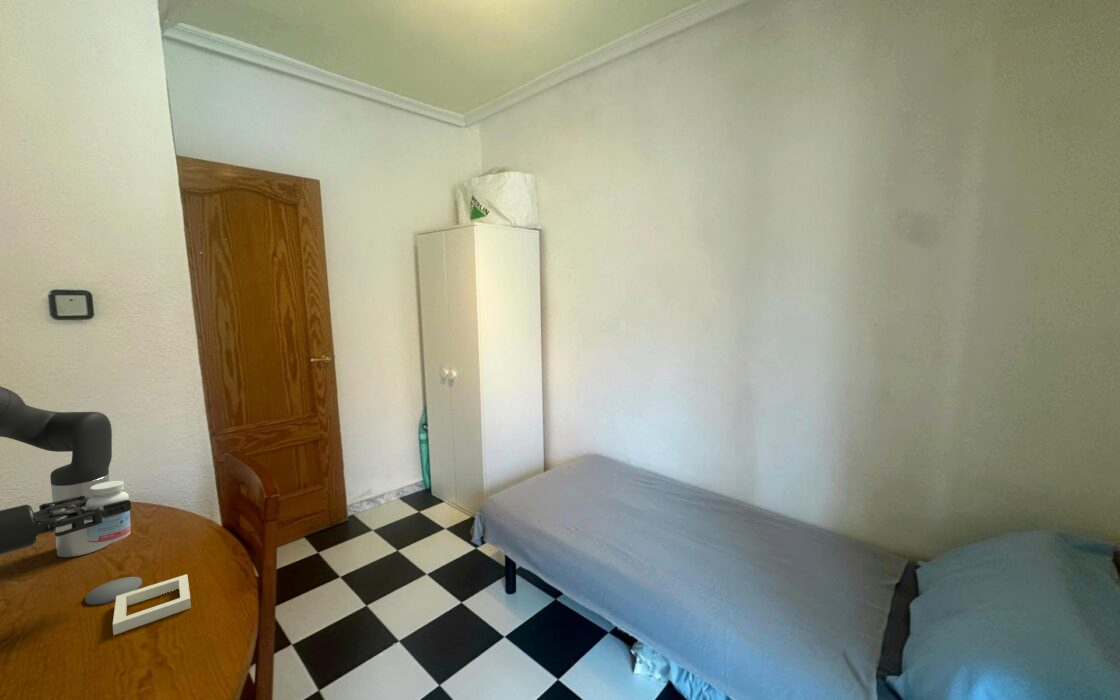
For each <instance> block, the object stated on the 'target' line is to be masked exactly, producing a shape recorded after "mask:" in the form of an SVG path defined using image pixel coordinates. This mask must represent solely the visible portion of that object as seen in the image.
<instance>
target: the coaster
mask: <svg viewBox="0 0 1120 700" xmlns="http://www.w3.org/2000/svg"><path fill="white" fill-rule="evenodd" d="M142 585H143V579H142V578H141V577H139V576H128V577H127V576H126V577H121V578H118V579H114V580H112V581H111V580H110V581H107V582H105V583H103V584H101V585H99V586H97V587H95V588H93V589H92V590H90V591H89V592H88V593H87V594H86V595H85V599H84V601H85V604H87V605H89V606H98V605H105V604H109V603H113V602H116V596H118V595H121V594H125V593H128V592H131V591H134V590H138V589H140V588H141V587H142ZM140 586H141V587H140ZM139 587H140V588H139Z"/></svg>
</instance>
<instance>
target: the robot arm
mask: <svg viewBox="0 0 1120 700" xmlns="http://www.w3.org/2000/svg"><path fill="white" fill-rule="evenodd" d="M112 429H113V428H112V423H111V421H110V419H109V417H108V416H107V415H106V414H105V413H102V412H99V411H51V410H45V409H41V408H38V407H34V406H30V405H27V403H25V401H24V400H23V399H22V397H21V396H20V395H19V394H18V393H16V392H15V391H13V390H11V389H8V388H6V387H3V386H1V385H0V438H1V437H2V438H7V439H10V440H15V441H17V442H20V443H24V444H26V445H30V446H32V447H36V448H38V449H40V450H44V451H49V452H59V453H62V452H63V453H65V452H66V453H67V452H70V453H71V452H72V453H71V461H70V463H68V464H66V465H65V464H64V465H63V466H60V467H58V468H55V469H54V470H52V471H51V472H50V477H49V478H50V487H51V497H52V498H51V499H52V501H51V502H47V503H43V504H40V505H39V506H38V507H39V510H38V511H34V510H33V508H32V506H31V505H29V504H23V505H18V506H15V507H10V508H5V509H2V510H1V509H0V556H3V555H5V554H8V553H12V552H15V551H19V550H23V549H26V548H30V547H32V546H34V545H35V543H36V542H37V536H38V535H41V534H46V533H47V534H48V533H54V535H55V546H56V547H55V548H56V555H57V557H60V558H72V557H79V556H84V555H87V554H91V553H93V552H96V551H99V550H102V549H103V548H106V547H108V546H109V545H110V544H112V543H110V544H105V545H90V544H88V543H87V532H86V528H88V527H91V526H94V525H98V524H101V523H102V520H103V519H104V517H108V516H112V515H116V514H119V513H123V512H127V511H129V510H130V511H131V509H132V503H131V500H130V499H129V500H123V501H119V502H115V503H112V504H108V505H104V506H98V507H92V508H87V507H86V506H85V505H86V502H87V501H88V500H89V499H90V498H92V496H91V494H90V487H92V486H94V485H96V484H99V483H104V482H109V481H110V473H109V472H110V470H109V469H110V466H111V465H110V464H111V462H112V457H113V453H112V452H113V451H112V447H113V445H112V444H113V433H112V432H113V430H112ZM90 516H92V518H88V517H90ZM88 522H89V523H88Z"/></svg>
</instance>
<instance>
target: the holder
mask: <svg viewBox="0 0 1120 700" xmlns="http://www.w3.org/2000/svg"><path fill="white" fill-rule="evenodd" d="M188 577H189V576H188V574H187V573H186V574H184V575H180V576H177V577H173V578H171V579H167V580H165V581H160V582H157V583H155V584H151V585H147V586H145V587H142V588H141V587H140V588H139V589H138V590H134V591H131V592H128V593H125V594H121V595H118V596H116V601H114V602H115V604H114V609H113V610H114V612H113V618H112V633H113V634H112V635H113V636H115V635H118V634H121V633H124V632H126V631H130V630H132V629H135V628H138V627H141V626H143V625H147V624H150V623H153V622H155V621H158V620H160V619H163V618H166V617H169V616H172V615H175V614H178V613H180V612H183V611H186V610H189V609H192V605H191V604H192V603H191V593H190V585H189V578H188ZM176 589H178V590H179V597H178V598H175V599H173V600H170V601H167V602H164V603H161V604H158V605H156V606H152V607H149V608H146V609H142V610H140V611H137V612H134V613H132V614H128V615H127V609H128V606H131V605H134V604H138V603H141V602H144V601H146V600H149V599H152V598H153V599H154V598H155V597H156V598H157V597H159V596H163V595H166V594H168V593H167V592H169V593H172V592H174V590H175V591H177V590H176ZM171 591H172V592H171ZM165 593H166V594H165ZM162 594H163V595H162Z"/></svg>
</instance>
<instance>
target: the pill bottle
mask: <svg viewBox="0 0 1120 700" xmlns="http://www.w3.org/2000/svg"><path fill="white" fill-rule="evenodd" d="M124 485H125V484H124V481H123V480H109V482H104V483H99V484H96V485H94V486H92V487H90V494H91V496H92V498H90V499H89V500H88V501H87V502H86V505H85V506H86V507H87V508H92V507H98V506H104V505H108V504H112V503H115V502H119V501H123V500H129V501H130V495H129V493H127V492H125V491H123V490H124V488H125V486H124ZM130 511H131V509H130V510H129V511H127V512H123V513H119V514H116V515H112V516H108V517H104V519H103V520H102V523H101V524H98V525H94V526H91V527H88V528H86V532H87V543H88V544H90V545H105V544H109V545H110V543H111V544H112V543H113V544H114V543H116V542H119V541H121V540H124V539H125V538H127V537H128V536H129V535H130V534H131V532H132V531H131V528H132V526H131V512H130ZM88 518H92V516H90V517H88ZM88 523H89V522H88Z"/></svg>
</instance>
